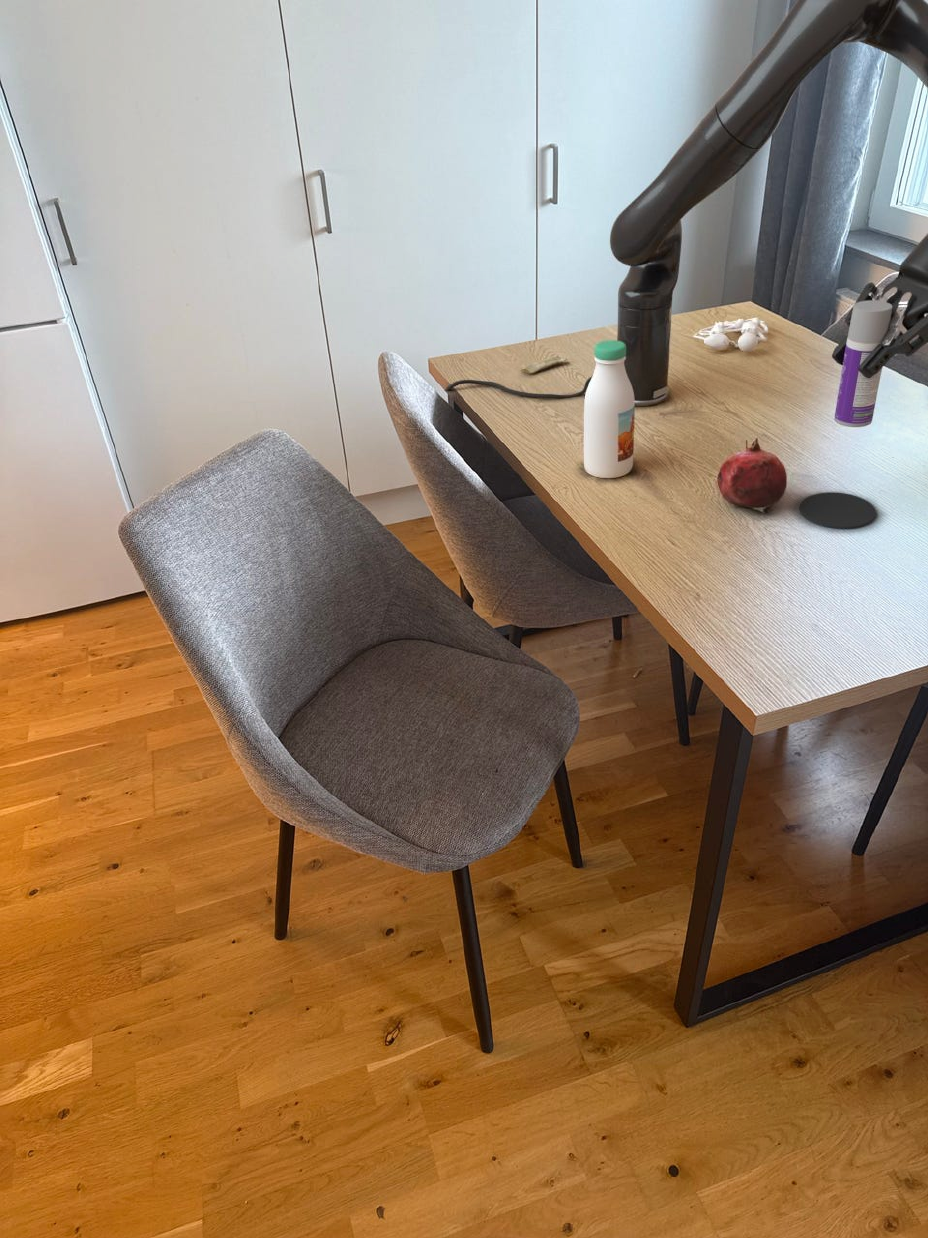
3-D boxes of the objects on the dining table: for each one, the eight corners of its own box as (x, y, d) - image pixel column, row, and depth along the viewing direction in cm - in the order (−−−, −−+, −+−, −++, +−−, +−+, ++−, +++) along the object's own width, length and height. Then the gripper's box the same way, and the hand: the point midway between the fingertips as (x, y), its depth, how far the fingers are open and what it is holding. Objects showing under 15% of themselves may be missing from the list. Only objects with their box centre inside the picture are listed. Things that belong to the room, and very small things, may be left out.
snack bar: (530, 372, 179) (521, 364, 181) (528, 378, 181) (520, 370, 182) (568, 359, 183) (559, 351, 185) (566, 365, 184) (558, 357, 186)
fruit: (773, 525, 126) (782, 459, 120) (706, 511, 131) (712, 447, 125) (792, 496, 132) (801, 432, 126) (728, 484, 137) (734, 422, 131)
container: (828, 415, 122) (846, 302, 113) (862, 411, 122) (882, 298, 114) (843, 429, 118) (862, 313, 110) (878, 425, 118) (900, 309, 110)
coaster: (790, 519, 127) (791, 517, 127) (810, 489, 134) (811, 487, 133) (865, 535, 122) (866, 532, 122) (882, 502, 129) (883, 500, 129)
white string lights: (710, 328, 198) (710, 308, 196) (779, 327, 191) (780, 307, 189) (687, 355, 184) (686, 335, 182) (760, 355, 177) (761, 334, 175)
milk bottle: (601, 484, 140) (603, 357, 128) (574, 466, 146) (573, 343, 134) (642, 470, 143) (647, 345, 131) (614, 453, 148) (616, 332, 137)
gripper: (896, 222, 115) (800, 334, 119) (981, 246, 103) (872, 368, 108) (923, 259, 119) (829, 366, 123) (1008, 286, 107) (901, 402, 112)
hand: (850, 366), depth 115 cm, fingers closed on container, 4 cm apart
